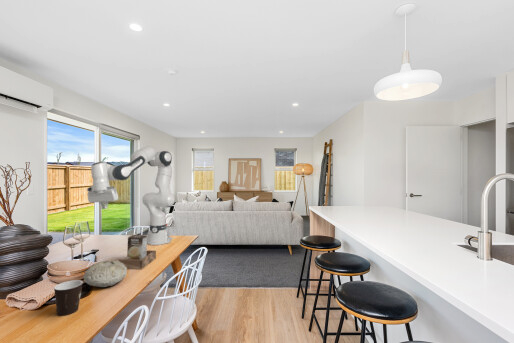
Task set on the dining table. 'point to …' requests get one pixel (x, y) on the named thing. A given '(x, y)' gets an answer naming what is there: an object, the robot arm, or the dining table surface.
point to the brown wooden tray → (139, 261)
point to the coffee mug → (67, 297)
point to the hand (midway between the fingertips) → (104, 208)
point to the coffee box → (137, 247)
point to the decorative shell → (105, 273)
